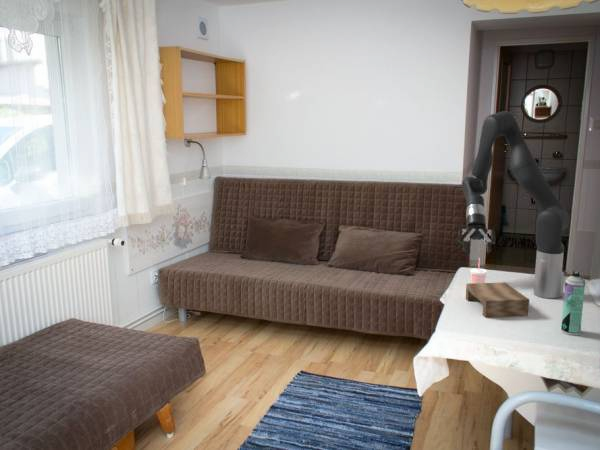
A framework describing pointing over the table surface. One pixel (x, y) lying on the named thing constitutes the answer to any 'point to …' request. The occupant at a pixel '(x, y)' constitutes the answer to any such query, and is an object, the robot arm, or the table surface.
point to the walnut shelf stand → (498, 299)
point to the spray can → (573, 304)
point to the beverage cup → (478, 274)
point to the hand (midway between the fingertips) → (477, 251)
